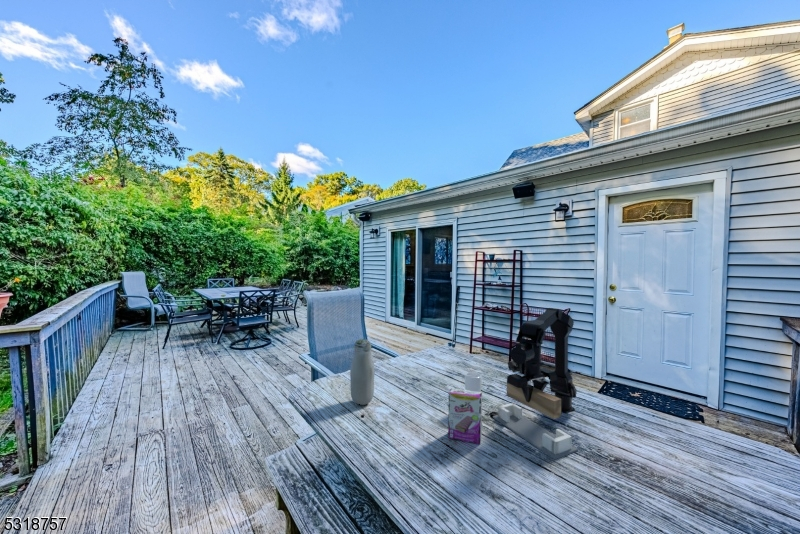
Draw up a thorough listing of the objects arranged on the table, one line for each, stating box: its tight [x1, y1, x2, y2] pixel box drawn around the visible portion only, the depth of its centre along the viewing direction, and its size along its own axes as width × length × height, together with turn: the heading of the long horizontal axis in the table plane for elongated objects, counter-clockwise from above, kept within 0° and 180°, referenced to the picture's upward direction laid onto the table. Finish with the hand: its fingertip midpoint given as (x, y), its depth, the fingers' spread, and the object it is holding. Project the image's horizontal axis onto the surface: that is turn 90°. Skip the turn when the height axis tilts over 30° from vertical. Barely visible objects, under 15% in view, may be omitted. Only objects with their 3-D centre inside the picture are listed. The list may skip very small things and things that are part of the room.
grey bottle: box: [349, 338, 375, 406], centre depth 132 cm, size 10×10×28 cm
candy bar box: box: [447, 387, 483, 445], centre depth 106 cm, size 11×5×16 cm, turn 71°
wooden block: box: [506, 382, 562, 420], centre depth 109 cm, size 4×20×6 cm, turn 28°
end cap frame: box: [492, 402, 579, 460], centre depth 110 cm, size 11×28×5 cm, turn 24°
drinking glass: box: [464, 371, 482, 392], centre depth 126 cm, size 7×7×15 cm
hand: (531, 401), depth 109 cm, fingers closed on wooden block, 4 cm apart
